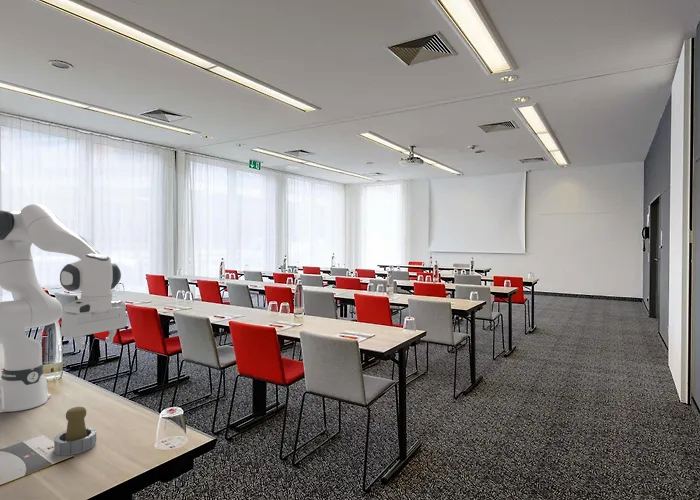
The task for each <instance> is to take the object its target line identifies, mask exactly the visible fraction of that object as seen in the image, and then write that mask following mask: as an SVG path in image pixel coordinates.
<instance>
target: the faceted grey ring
mask: <svg viewBox="0 0 700 500" xmlns="http://www.w3.org/2000/svg"><path fill="white" fill-rule="evenodd" d="M85 427H86V433H87V437H85V438H82V439H79V440H74V441H65V438H66V431H67V430H65V431H62V432H60V433H58V434H57V435H55V436H54V439H53V441H54V443H53V444H54V445H53V446H54V448H53V450H54V451H53V453H55V454H56V455H58V456H62V457H63V456H65V457H66V456H73V455H78V454H82V453H85V452H87V451H89V450H91V449H93V448H94V447H95V446H96V444H97V431H96V428H94V427H90V426H89V427H87V426H85Z"/></svg>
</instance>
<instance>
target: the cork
mask: <svg viewBox="0 0 700 500" xmlns="http://www.w3.org/2000/svg"><path fill="white" fill-rule="evenodd" d="M86 416H87V409H86V408H85V407H84V406H74V407H71V408H69V409H68V410H67V411H66V412H65V419H66V420H67V426H66V430H65V431H66V438H65V441H74V440H79V439H82V438H85V437H87V433H86V427H87V426H86V422H85V418H86Z"/></svg>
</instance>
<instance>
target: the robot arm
mask: <svg viewBox="0 0 700 500" xmlns="http://www.w3.org/2000/svg"><path fill="white" fill-rule="evenodd" d="M32 245H34V246H35V247H36V248H38V249H40V250H42V251H45V252H48V253H49V252H50V253H58V254H65V255H71V256H74V257H76V258H78V259H79V260H78V261H75V262H71V263H67V264H66V265H64V266H63V268H62V269H61V271H60V274H59V282H60V285H61V287H62V288H64V289H65V290H66V291H68V292H77V293H78V292H81V293H80V298H78V299H76V300H74V301H71V302H69V303H67V304H64V306H62V305H63V304H62V303H61V302H60V300H58V299H57V298H54V297H53V296H51V295H50V294H48V293H47V292H46V291H45V290H44V289H43V288H42V286H41V285H40V283H39V280H38V278H37V274H36V270H35V266H34V260H33V256H32V251H31V247H32ZM121 278H122V273H121V270H120V267H119V266H118V265H117V263H115V262H114V261H112V259H111V257H110V256H108V255H106V254H103V253H101V252H100V251H99V250H98V249H96V247H94V245H92V244H91V243H90V242H89V241H88V240H87V239H85V237H83V236H82V235H80V234H77V233H76V232H74V231H72V230H71V229H70V228H68V227H67V226H66V225H65V224H63V223H62V221H61V220H60V219H59V218H58V217H57V215H55V213H54V212H52V211H51V210H50V209H49V208H47V207H46V206H45V205H42V204H38V203H32V204H28V205H26V206H25V207H23V208H21V210H0V287H1V288H2V289H3V290H4V291H7V292H10V293H13V294H14V295H15V296H16V297H17V298H18V299H16V300H14V299H13V300H5V301H0V344H1V346H2V351H3V359H4V361H3V362H4V368H1V369H0V370H2V371H1V377H0V413H1V414H2V413H6V412H7V413H8V412H9V413H10V412H20V411H26V410H30V409H33V408H36V407H40V406H42V405H43V404H46V403H47V401H48V399H50V398H51V397H52V394H51V393H49V390H48V383H47V376H45V375H43V374H44V370H45V369H44V364H43V357H42V356H43V346H42V344H41V342H40V341H38V340H37V339H34V338H32V337H28V336H27V333H26V330H28V329H34V328H41V327H45V326H49V325H52V324H55V323H57V322H59V320H61V322H60V323H61V325H60V334H61V335H62V336H63V337H64V338H68V339H71V338H73V340H74V342H75V343H76V346H77V347H76V349H77V350H79V351H81V350H85V349H86V343H84V342H82V339H83V336H88V335H93V334H97V333H98V334H99V333H103V332H109V334H108V335H107V337H105V340H104V341H105V344H112V343H113V342H114V337H115V335H116V333H117V330H118V329H124V328H126V326H127V324H128V320H127V312H126V303H125V302H123V301H122V300H118V301H113V291H112V290H113V289H114V288H115V287H117V286H118V284H119V282H120V281H121ZM63 312H65V313H64V314H63Z"/></svg>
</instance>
